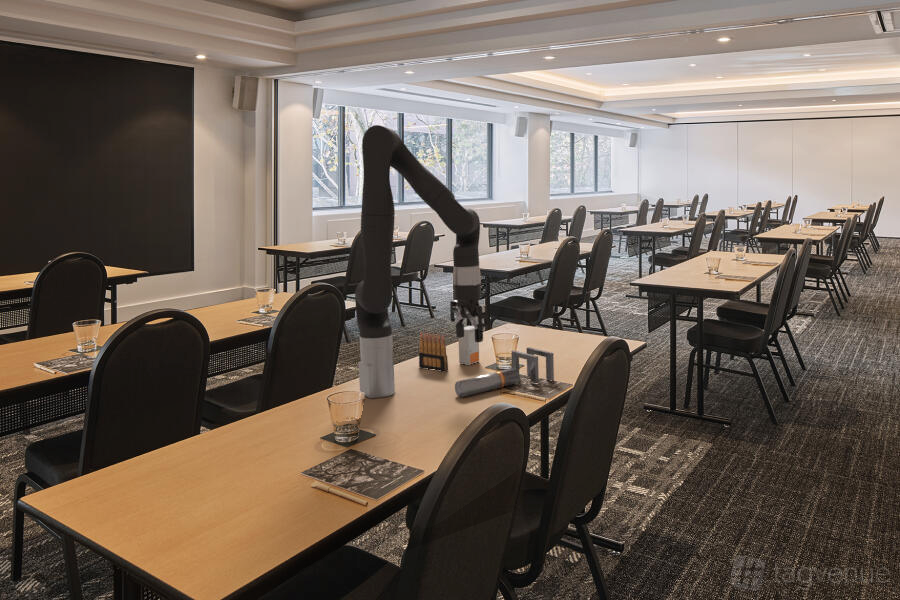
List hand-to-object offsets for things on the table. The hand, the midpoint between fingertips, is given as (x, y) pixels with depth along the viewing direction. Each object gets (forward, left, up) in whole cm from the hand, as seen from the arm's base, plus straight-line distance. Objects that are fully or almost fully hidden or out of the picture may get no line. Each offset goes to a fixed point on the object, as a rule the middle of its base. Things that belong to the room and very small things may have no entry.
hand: (469, 339), depth 205 cm
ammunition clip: (+8, +31, -16) cm, 36 cm away
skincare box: (+21, +29, -16) cm, 39 cm away
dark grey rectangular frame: (+26, 0, -16) cm, 30 cm away
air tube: (+6, 0, -16) cm, 17 cm away
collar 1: (+20, 0, -16) cm, 25 cm away
